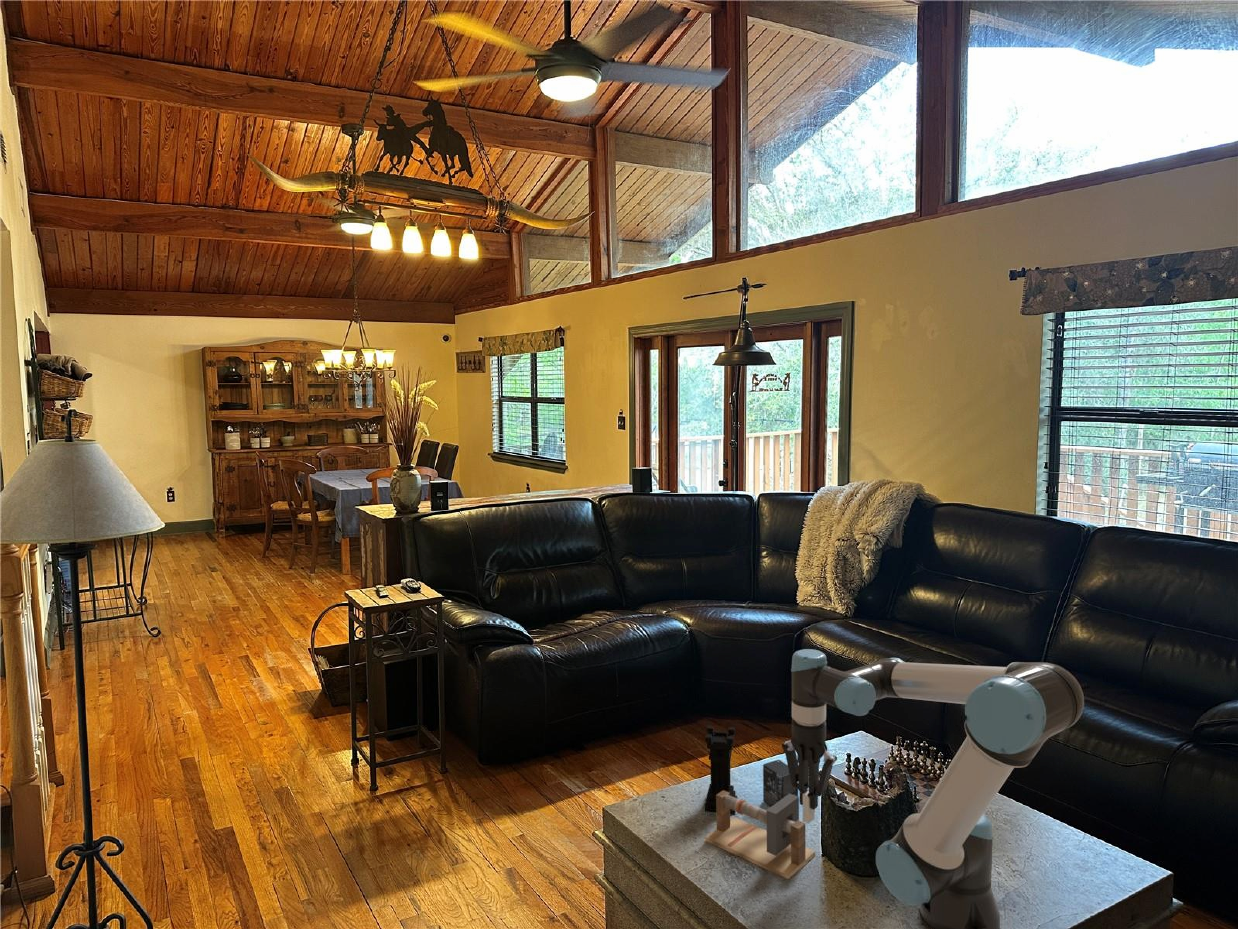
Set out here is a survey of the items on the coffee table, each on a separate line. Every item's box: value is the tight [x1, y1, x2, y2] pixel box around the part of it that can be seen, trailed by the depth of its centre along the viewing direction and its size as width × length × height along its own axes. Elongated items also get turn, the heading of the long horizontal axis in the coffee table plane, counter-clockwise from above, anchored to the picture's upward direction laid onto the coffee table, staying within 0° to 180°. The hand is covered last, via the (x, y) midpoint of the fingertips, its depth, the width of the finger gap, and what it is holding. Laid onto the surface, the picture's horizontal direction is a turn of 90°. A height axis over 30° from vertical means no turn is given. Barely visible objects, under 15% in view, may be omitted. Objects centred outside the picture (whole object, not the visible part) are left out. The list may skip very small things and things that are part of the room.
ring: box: [766, 793, 800, 856], centre depth 183 cm, size 2×10×10 cm, turn 137°
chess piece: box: [703, 725, 738, 815], centre depth 207 cm, size 8×8×20 cm
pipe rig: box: [705, 790, 816, 880], centre depth 188 cm, size 23×12×10 cm, turn 47°
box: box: [762, 758, 799, 807], centre depth 207 cm, size 8×6×11 cm
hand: (808, 820), depth 178 cm, fingers closed
